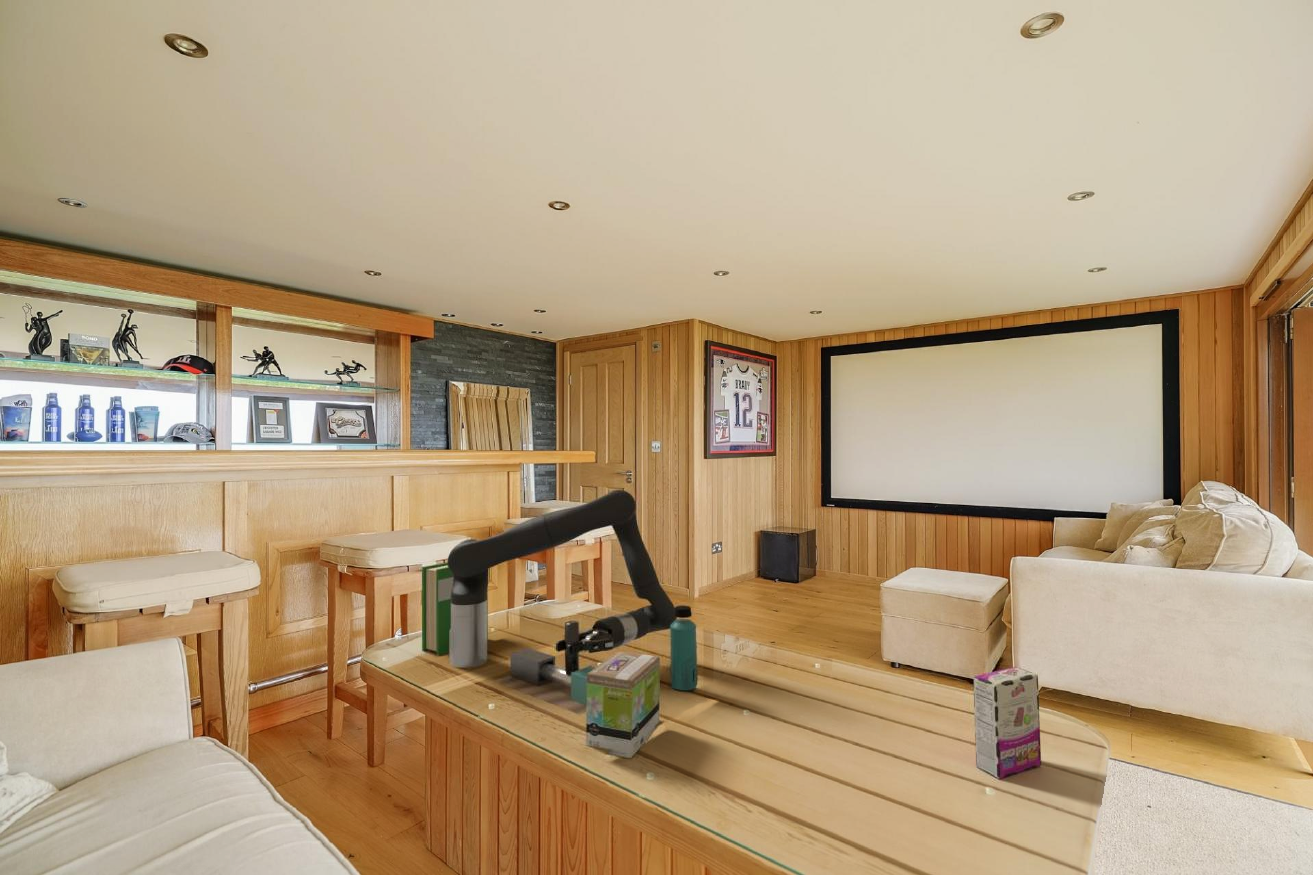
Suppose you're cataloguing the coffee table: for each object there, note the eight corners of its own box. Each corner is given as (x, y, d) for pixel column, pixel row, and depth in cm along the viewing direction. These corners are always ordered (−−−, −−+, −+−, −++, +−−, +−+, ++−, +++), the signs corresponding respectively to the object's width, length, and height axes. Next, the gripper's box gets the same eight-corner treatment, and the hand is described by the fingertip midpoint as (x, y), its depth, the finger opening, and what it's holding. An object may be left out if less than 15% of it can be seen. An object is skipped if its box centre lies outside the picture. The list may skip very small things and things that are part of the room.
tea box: (633, 760, 115) (632, 679, 115) (584, 751, 118) (584, 673, 118) (661, 726, 129) (660, 654, 129) (616, 719, 132) (616, 649, 132)
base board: (494, 686, 151) (494, 681, 151) (539, 670, 162) (539, 665, 162) (579, 719, 132) (579, 714, 132) (624, 699, 142) (624, 693, 142)
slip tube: (531, 676, 150) (531, 615, 150) (542, 672, 153) (542, 612, 153) (590, 697, 137) (590, 630, 137) (601, 693, 140) (601, 627, 140)
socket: (571, 699, 139) (571, 673, 139) (590, 691, 144) (590, 665, 144) (591, 707, 135) (591, 679, 135) (611, 698, 140) (610, 672, 140)
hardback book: (438, 655, 174) (438, 569, 174) (422, 651, 178) (421, 566, 178) (487, 639, 188) (487, 559, 189) (471, 635, 193) (471, 557, 193)
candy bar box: (1016, 754, 116) (1014, 665, 116) (1042, 766, 111) (1040, 674, 111) (973, 767, 111) (971, 674, 111) (998, 780, 107) (996, 684, 107)
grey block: (510, 676, 154) (510, 653, 154) (527, 670, 158) (527, 647, 158) (537, 686, 147) (537, 662, 147) (555, 680, 151) (555, 656, 151)
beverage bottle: (696, 698, 143) (695, 610, 143) (667, 696, 144) (666, 609, 144) (699, 687, 149) (698, 603, 149) (672, 685, 150) (671, 602, 151)
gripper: (595, 611, 159) (542, 626, 146) (635, 621, 150) (583, 638, 137) (595, 641, 159) (542, 658, 146) (636, 652, 150) (583, 672, 137)
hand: (562, 648), depth 141 cm, fingers closed on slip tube, 3 cm apart
